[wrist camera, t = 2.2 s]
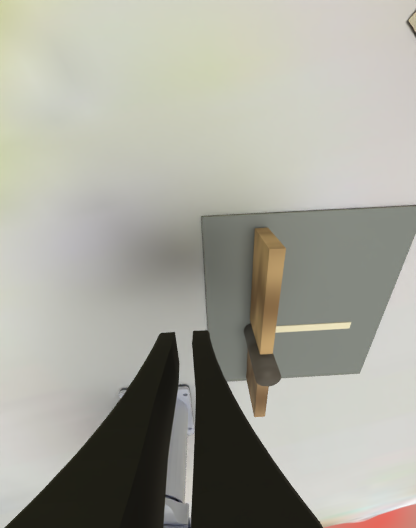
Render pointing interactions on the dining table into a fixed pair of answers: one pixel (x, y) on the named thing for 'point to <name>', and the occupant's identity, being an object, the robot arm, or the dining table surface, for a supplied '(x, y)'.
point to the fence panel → (266, 287)
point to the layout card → (307, 285)
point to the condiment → (413, 21)
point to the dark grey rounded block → (259, 373)
